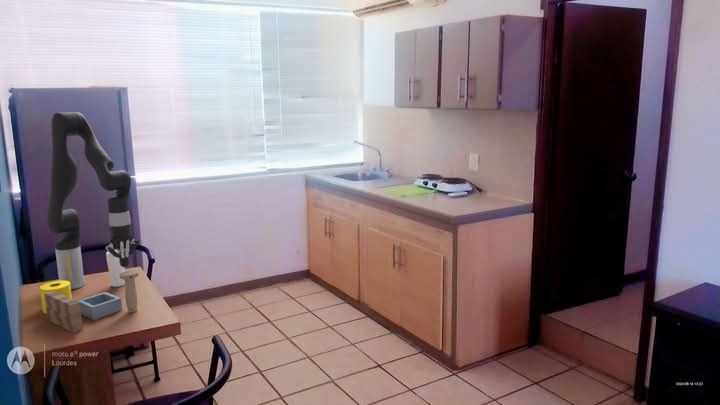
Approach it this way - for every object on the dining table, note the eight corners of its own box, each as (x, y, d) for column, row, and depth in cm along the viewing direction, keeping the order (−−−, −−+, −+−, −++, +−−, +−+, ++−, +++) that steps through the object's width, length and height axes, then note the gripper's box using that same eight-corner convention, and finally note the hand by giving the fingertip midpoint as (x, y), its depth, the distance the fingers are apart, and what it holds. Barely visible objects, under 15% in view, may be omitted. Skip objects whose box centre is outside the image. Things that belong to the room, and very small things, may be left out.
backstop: (47, 319, 189) (44, 293, 187) (56, 316, 192) (53, 290, 190) (73, 332, 178) (70, 305, 176) (82, 329, 181) (79, 302, 179)
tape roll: (43, 315, 192) (39, 291, 191) (42, 306, 201) (39, 283, 199) (73, 310, 198) (70, 286, 196) (72, 301, 206) (69, 278, 204)
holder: (78, 313, 195) (77, 300, 194) (106, 304, 204) (105, 292, 203) (93, 320, 189) (92, 307, 188) (122, 310, 198) (120, 298, 197)
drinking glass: (106, 286, 222) (102, 252, 219) (119, 281, 228) (116, 248, 225) (116, 289, 219) (113, 254, 216) (130, 284, 225) (127, 250, 222)
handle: (121, 311, 196) (118, 273, 193) (139, 307, 200) (136, 269, 197) (125, 315, 192) (121, 276, 189) (143, 311, 196) (139, 273, 193)
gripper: (130, 218, 206) (134, 260, 210) (97, 225, 196) (102, 269, 199) (141, 221, 202) (145, 263, 205) (108, 227, 191) (113, 272, 195)
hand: (124, 266), depth 202 cm, fingers closed
